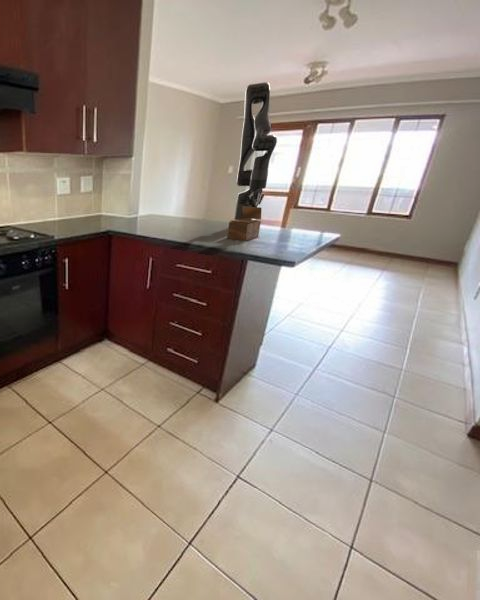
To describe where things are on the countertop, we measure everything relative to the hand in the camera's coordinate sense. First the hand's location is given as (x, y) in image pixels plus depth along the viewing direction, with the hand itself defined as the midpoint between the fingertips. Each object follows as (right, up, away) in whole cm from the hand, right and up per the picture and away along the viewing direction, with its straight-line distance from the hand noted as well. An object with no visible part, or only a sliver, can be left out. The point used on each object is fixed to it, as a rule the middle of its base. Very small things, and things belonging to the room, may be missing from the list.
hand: (253, 213), depth 176 cm
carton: (-6, -13, 0) cm, 14 cm away
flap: (-2, 0, -1) cm, 2 cm away
